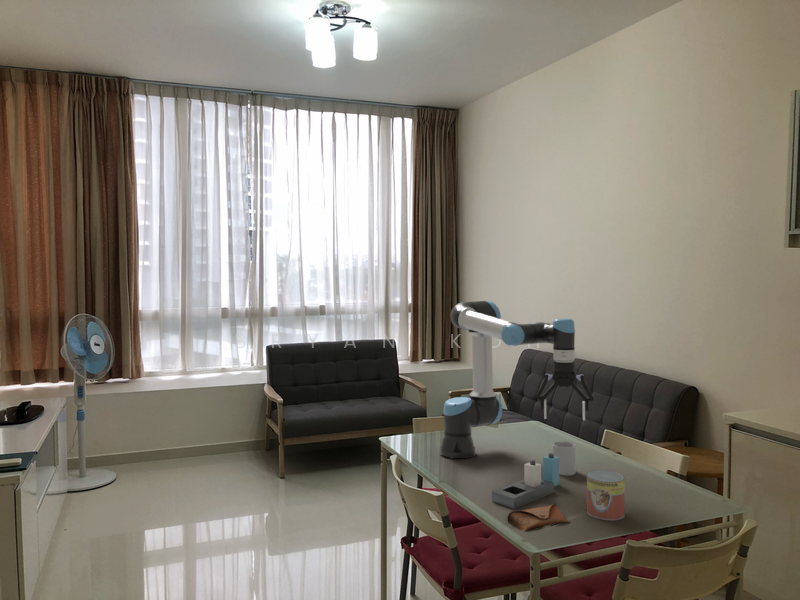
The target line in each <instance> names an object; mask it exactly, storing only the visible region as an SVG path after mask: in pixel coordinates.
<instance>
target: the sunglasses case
mask: <svg viewBox="0 0 800 600" xmlns="http://www.w3.org/2000/svg"><path fill="white" fill-rule="evenodd" d="M507 523H508V524H510V525H512V526H513V527H515V528H517V530H520V531H522V532H523V533H525V532H529V531H533V530H537V529H542V528H545V526H548V525H550V527H553V526H559V525H563V524H565V525H566V524H570V523H571V521H570V520H568V519H567V517H566V516H565V515H564V513H562V511H561V510H560V509H559V508H558V507H557V503H554V504H551V505H546V506H540V507H539V506H538V507H533V508H528V509H527V508H526V509H522V510H513V511H510V512H509V513H508V514H507Z"/></svg>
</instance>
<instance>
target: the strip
mask: <svg viewBox="0 0 800 600" xmlns="http://www.w3.org/2000/svg"><path fill="white" fill-rule="evenodd" d="M554 493H555V487H554V483H553V482H550V481H547V480H543V478H541V485H540V486H537V487H535V488H534V487H531V486H528V485H525V484H524V479H522V480H518V481H516V482H513V483H511V484H508V485H505V486H502V487H499V488H497V489H494V490H492V491H491V502H493V503H495V504H498V505H501V506H504V507H507V508H510V509H512V510H515V509H517V508H520V507H522V506H525V505H527V504H529V503H532V502H535V501H537V500H539V499H542V498H545V497H547V496H549V495H552V494H554Z"/></svg>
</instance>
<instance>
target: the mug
mask: <svg viewBox="0 0 800 600" xmlns="http://www.w3.org/2000/svg"><path fill="white" fill-rule="evenodd" d="M576 447H577V445H576V444H575V443H573V442H569V441H562V440H561V441H555V442H553V443H552V453H553V454H554V456H556V457H559V476H573V475H575V474H576V473H577V471H576V470H577V468H576V465H577V464H576V461H577V460H576V457H577V456H576V455H577V453H576V450H577V448H576Z"/></svg>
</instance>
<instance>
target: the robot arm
mask: <svg viewBox="0 0 800 600" xmlns="http://www.w3.org/2000/svg"><path fill="white" fill-rule="evenodd" d="M450 321H451V323H452V324H453V326H455V327H456V328H458V329H461V330H463V331H468V334H470V336H471V347H472V348H471V353H472V355H471V356H472V357H471V358H472V360H471V361H472V391H471V392H470V393H469V397H468V396H467V397H466V396H460V397H459V396H458V397H453V398H449V399H447V400H446V401H445V402H444V404H443V410H442V413H443V438H442V442H441V445H440V448H439V454H440V453H441V454H442V455H444V456H447V457H452V458H451V459H453V458H465V459H470V458H473V457H475V456H476V455H477V453H476V447H475V443H474V440H473V438H472V428H478V427H482V426H490V425H494V424H496V423H497V422H499V420H500V419H501V417H502V414H503V404H502V403H501V400H500V398H498V397H497V393H495V392H494V389H493V387H494V386H493V384H494V382H493V376H494V375H493V338H496V339H499V340H502V342H503V343H504V344H506V346H514V347H516V346H522V345H532V344H533V345H535V344H551V345H553V347H552V349H553V351H552V352H553V355H552V356H553V359H552V360H553V372H552V374H550V373H545V374H544V380H543V381H542V383H541V384H540V387H539V389H538V391H537V393H536V395H535V399H537V400H539V401H540V409H541V410H543V415H544V416H543V418H544V420H547V397H548V396H549V395H550V394H551V393H552V392H553V391H554V390H555V388H557V387H561V388H563V387H565V388H569V387H571V388H573V389H574V391H575V392H576V393H577V394H578V395H579V396H580V397H581V399H582V400H583V401H582V421H583V422H584V421H586V412H588V411H589V403H590V402H592V401H594V397H593V395H592V393H591V391H590V388H589V387H588V384H587V382H586V381H585V376H584V374H583V373H581V374H576V371H575V370H576V369H575V368H576V367H575V366H576V365H575V364H576V363H575V360H576V359H575V357H576V356H575V355H576V353H575V352H576V351H575V338H576V337H575V333H576V330H575V321H574V319H572V318H554V319H553V321H552V323H548V322H533V323H516V322H513V321H509V320H506V319H503V318H502V316H501V311H500V309H499V307H498V306H497V305H496V304H495V303H494V302H493V301H488V300H486V301H485V300H480V301H478V300H477V301H462V302H458V303H457V304H455V305H454V307H452V309H451V311H450ZM551 379H552V380H553V381H554V382H553V383H552V384H551V386H550V387H549V388H548V389H547V390H546V391H545V392H544V393H543V391H544V389H545V387H546V385H547V383H548V381H550V380H551ZM576 380H578V381H579V382H580V383H581V385H582V387H583V389H584V391H585V392H586V395H587V396H588V397H587V396H586V395H585V394H584V392H583V391H582V390H581V389H580V388H579V386H578V385H577V384H576V383H575V381H576ZM542 393H543V395H542ZM475 454H476V455H475ZM442 455H441V456H442ZM444 456H443V457H444ZM447 457H446V458H447Z"/></svg>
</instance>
